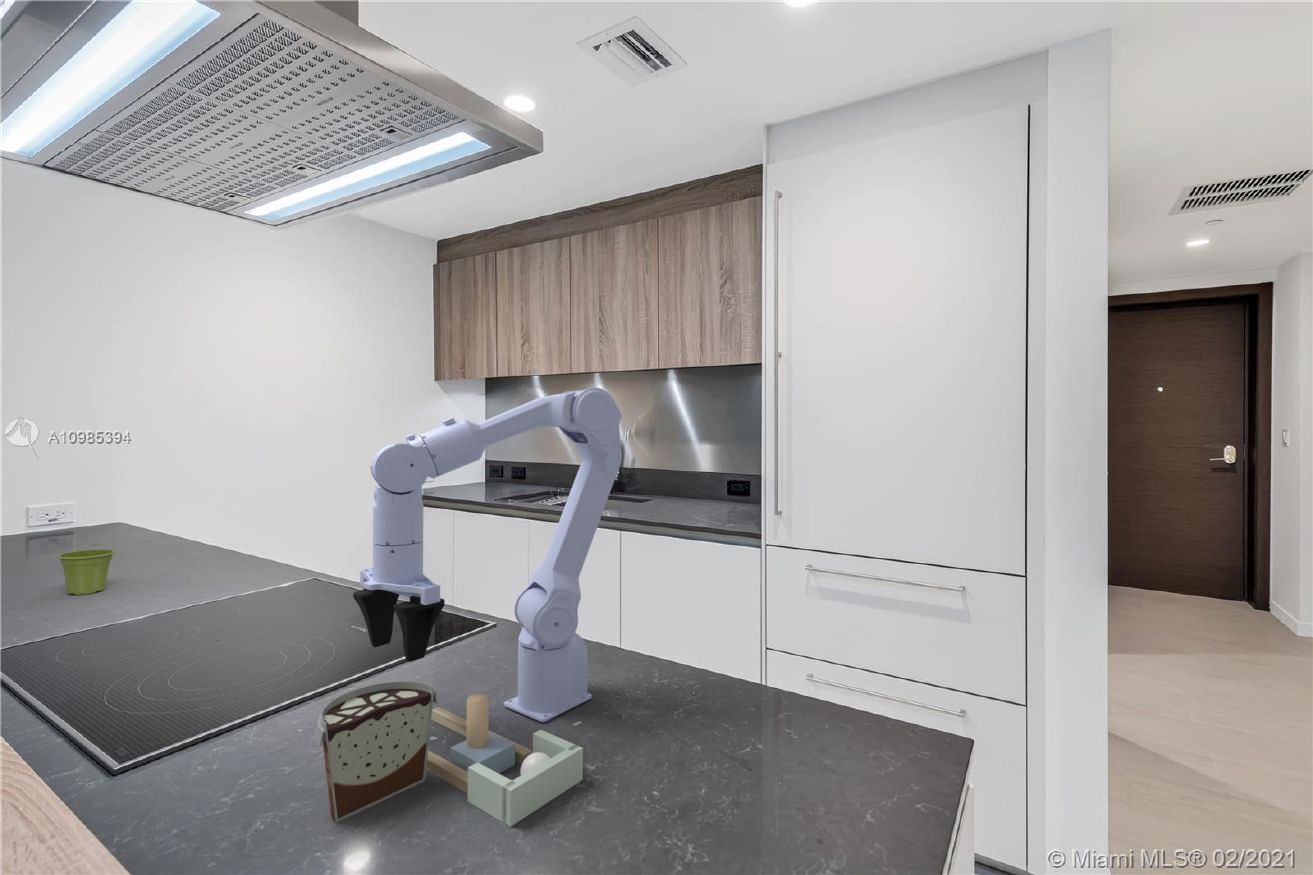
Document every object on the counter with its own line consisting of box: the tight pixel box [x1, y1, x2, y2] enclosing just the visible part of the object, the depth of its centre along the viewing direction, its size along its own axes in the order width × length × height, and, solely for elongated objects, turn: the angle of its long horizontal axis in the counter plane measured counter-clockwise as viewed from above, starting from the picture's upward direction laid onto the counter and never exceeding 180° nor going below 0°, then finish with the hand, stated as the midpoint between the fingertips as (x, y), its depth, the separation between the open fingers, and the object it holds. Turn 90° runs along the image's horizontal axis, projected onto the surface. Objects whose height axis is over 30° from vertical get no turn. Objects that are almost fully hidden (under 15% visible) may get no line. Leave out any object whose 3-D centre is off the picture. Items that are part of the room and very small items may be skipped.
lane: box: [426, 706, 533, 795], centre depth 73 cm, size 8×18×1 cm, turn 54°
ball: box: [520, 752, 551, 776], centre depth 66 cm, size 4×4×4 cm
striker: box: [449, 693, 516, 774], centre depth 70 cm, size 5×5×8 cm
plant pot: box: [57, 548, 116, 596], centre depth 138 cm, size 9×9×9 cm
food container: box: [314, 680, 439, 824], centre depth 65 cm, size 12×6×10 cm, turn 141°
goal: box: [467, 729, 584, 828], centre depth 65 cm, size 10×7×4 cm, turn 143°
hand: (397, 651), depth 76 cm, fingers open, 7 cm apart
